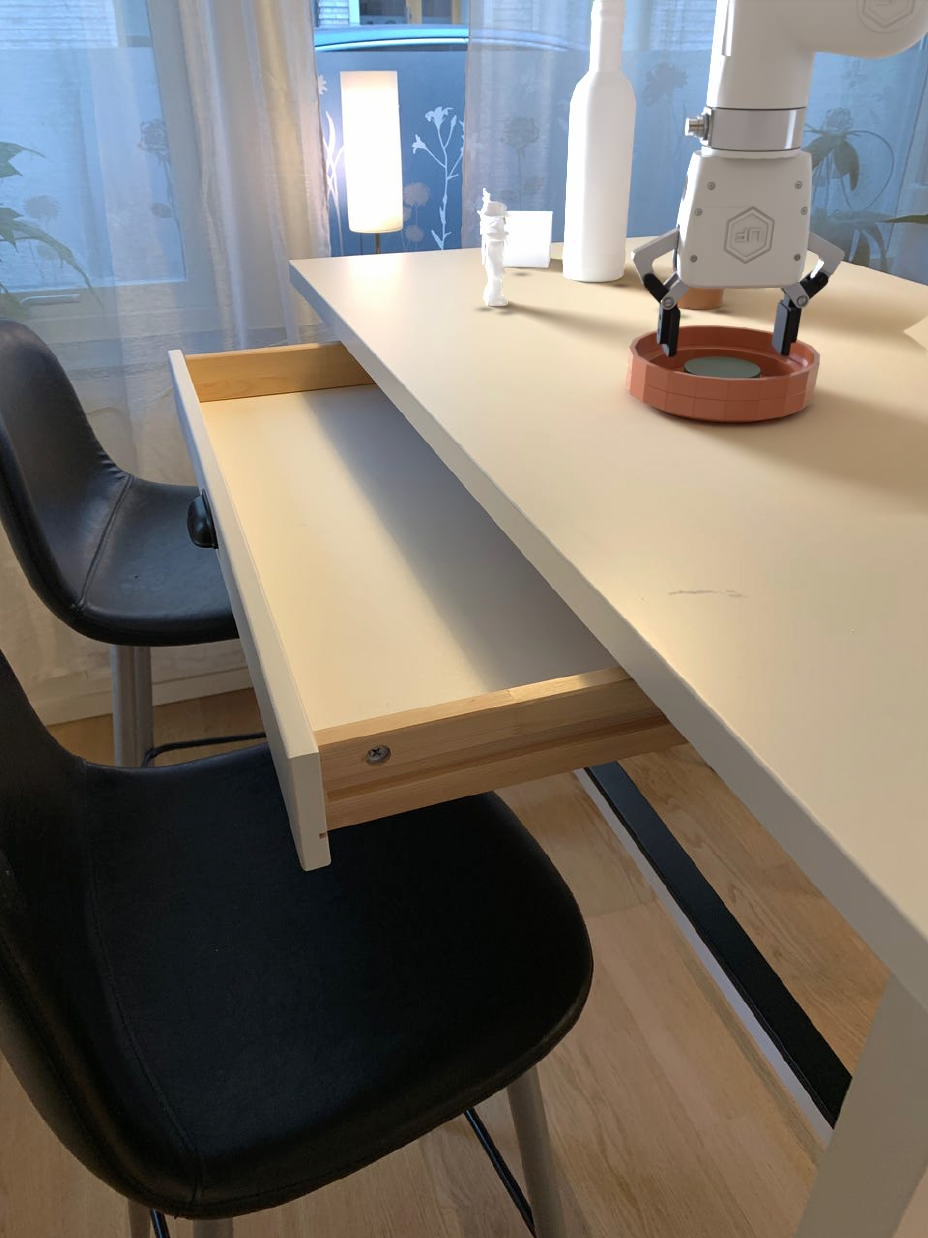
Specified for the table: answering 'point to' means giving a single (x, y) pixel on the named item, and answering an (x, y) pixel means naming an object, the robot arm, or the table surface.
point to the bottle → (600, 156)
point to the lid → (722, 367)
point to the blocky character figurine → (494, 248)
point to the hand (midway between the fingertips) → (724, 351)
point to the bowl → (722, 399)
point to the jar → (702, 298)
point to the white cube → (528, 239)
